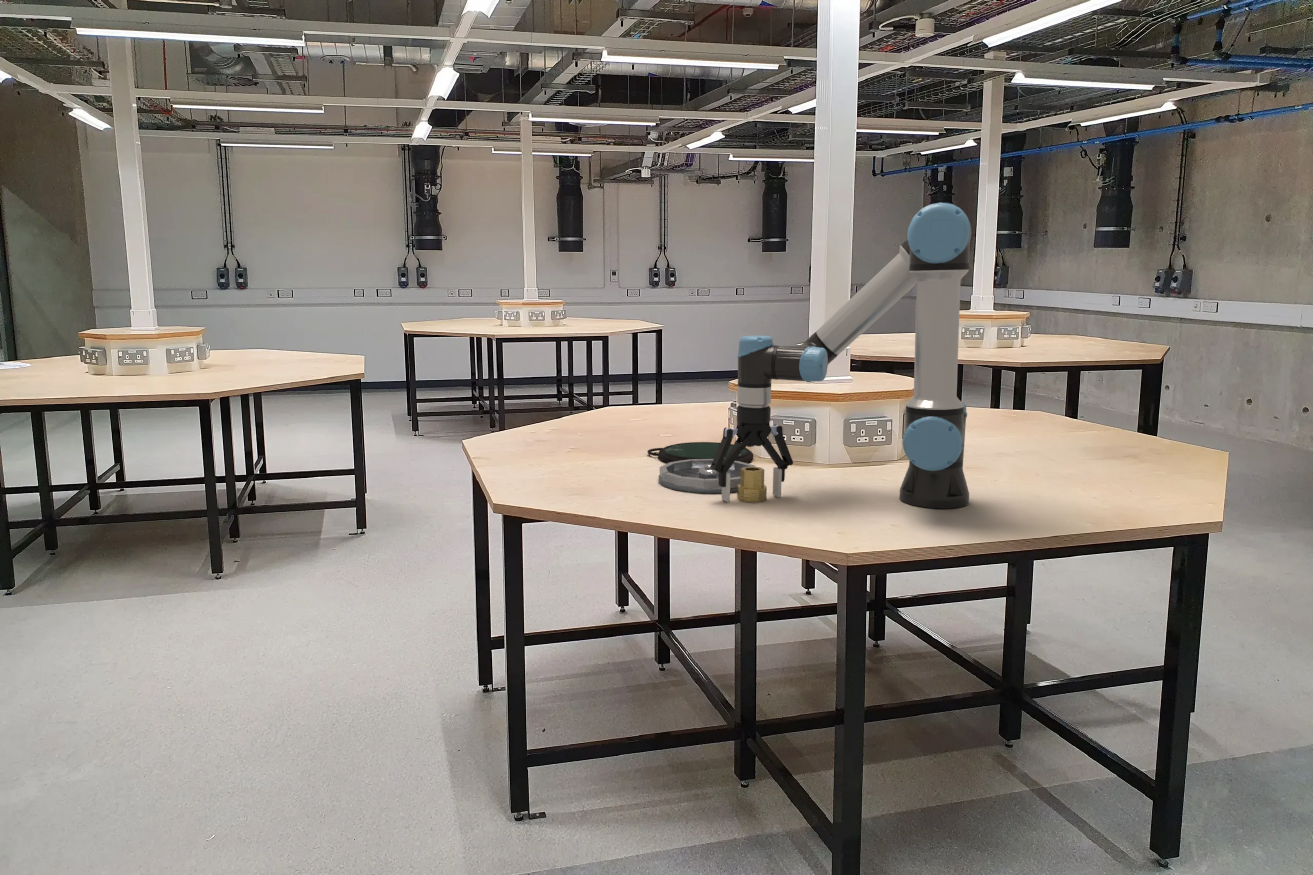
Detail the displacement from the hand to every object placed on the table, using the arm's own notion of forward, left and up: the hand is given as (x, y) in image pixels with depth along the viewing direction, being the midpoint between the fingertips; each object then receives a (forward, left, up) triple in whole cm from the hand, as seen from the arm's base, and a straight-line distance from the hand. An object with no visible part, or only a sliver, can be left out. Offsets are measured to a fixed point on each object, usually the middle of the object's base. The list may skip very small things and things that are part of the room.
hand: (751, 498), depth 210 cm
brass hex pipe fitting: (0, 0, 0) cm, 0 cm away
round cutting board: (+28, -38, -1) cm, 47 cm away
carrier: (+15, -12, 0) cm, 19 cm away
